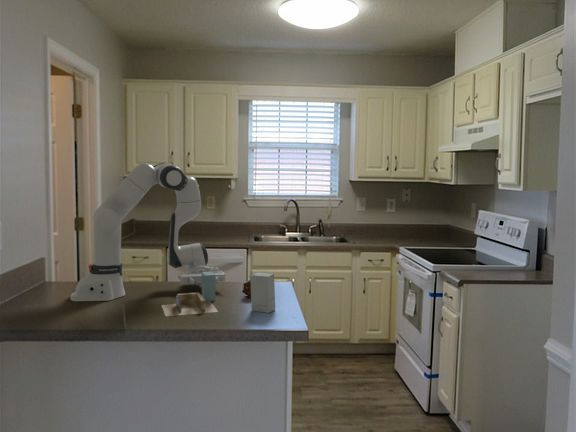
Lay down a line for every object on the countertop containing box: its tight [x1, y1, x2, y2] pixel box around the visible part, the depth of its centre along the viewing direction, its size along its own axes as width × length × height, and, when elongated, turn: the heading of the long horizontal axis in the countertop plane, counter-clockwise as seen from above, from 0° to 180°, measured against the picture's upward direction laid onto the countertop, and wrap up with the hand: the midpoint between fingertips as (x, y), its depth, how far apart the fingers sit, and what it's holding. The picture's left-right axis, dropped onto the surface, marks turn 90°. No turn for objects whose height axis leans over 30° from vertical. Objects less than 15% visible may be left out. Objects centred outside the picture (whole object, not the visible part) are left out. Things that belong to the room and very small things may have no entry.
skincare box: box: [249, 272, 276, 314], centre depth 198 cm, size 8×6×15 cm
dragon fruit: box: [242, 280, 251, 299], centre depth 220 cm, size 8×8×12 cm
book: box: [201, 272, 216, 302], centre depth 211 cm, size 4×7×12 cm, turn 20°
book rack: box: [161, 292, 219, 317], centre depth 196 cm, size 20×16×6 cm
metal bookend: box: [175, 294, 181, 313], centre depth 195 cm, size 1×10×4 cm, turn 20°
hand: (205, 281), depth 217 cm, fingers open, 8 cm apart
